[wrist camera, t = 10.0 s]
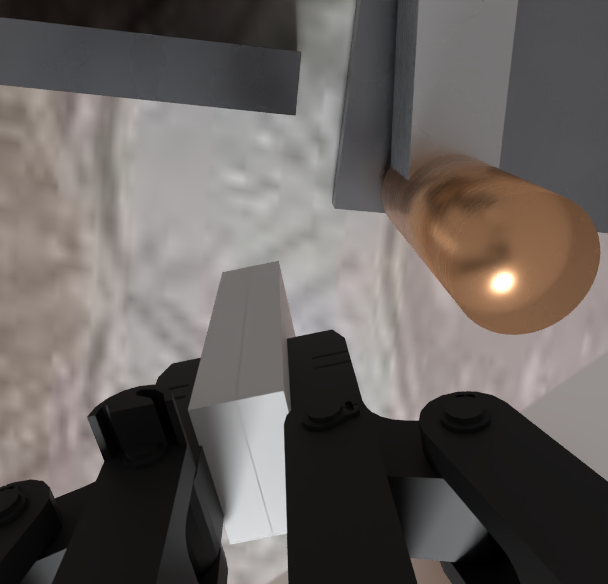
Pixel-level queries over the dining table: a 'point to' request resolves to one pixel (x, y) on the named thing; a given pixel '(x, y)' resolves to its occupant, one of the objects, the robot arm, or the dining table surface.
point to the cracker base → (357, 89)
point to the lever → (477, 174)
